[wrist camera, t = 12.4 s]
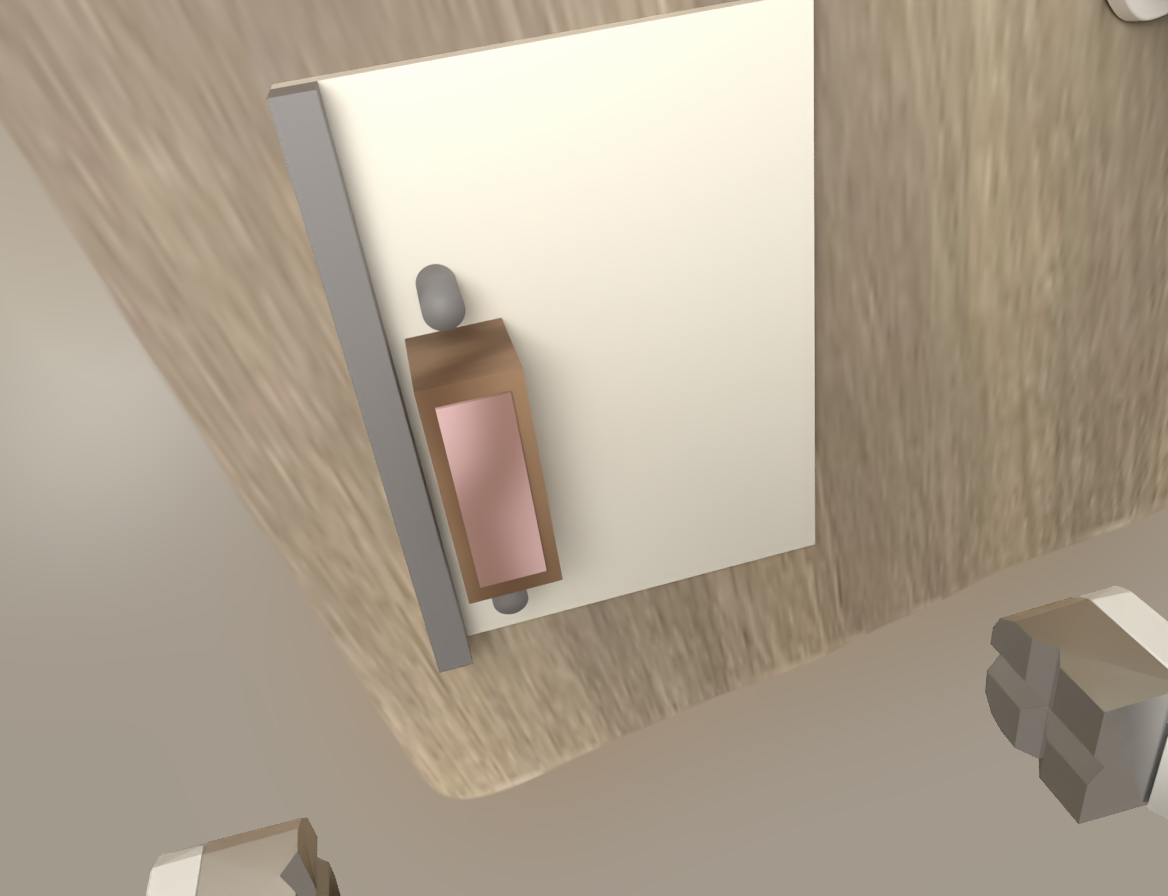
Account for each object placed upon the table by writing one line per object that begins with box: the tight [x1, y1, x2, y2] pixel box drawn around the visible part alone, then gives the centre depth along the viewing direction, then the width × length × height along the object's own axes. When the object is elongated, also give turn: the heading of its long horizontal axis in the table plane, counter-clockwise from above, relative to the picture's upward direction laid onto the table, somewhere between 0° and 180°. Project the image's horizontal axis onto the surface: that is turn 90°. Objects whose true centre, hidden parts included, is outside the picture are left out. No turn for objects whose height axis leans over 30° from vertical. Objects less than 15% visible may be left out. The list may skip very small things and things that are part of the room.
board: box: [267, 0, 815, 673], centre depth 39 cm, size 20×26×4 cm
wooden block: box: [405, 318, 563, 604], centre depth 37 cm, size 4×10×5 cm, turn 8°
